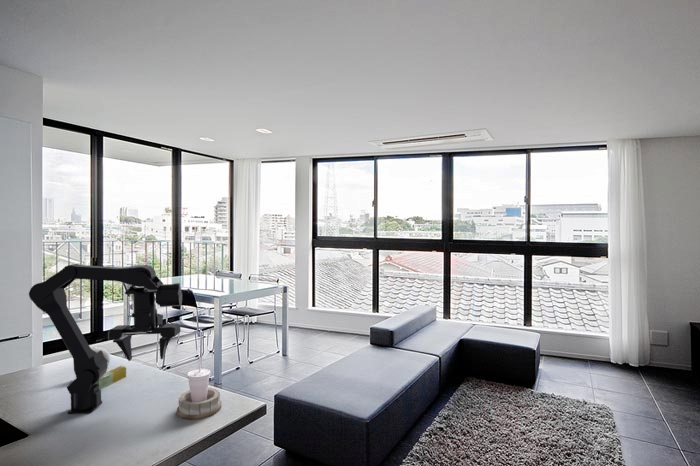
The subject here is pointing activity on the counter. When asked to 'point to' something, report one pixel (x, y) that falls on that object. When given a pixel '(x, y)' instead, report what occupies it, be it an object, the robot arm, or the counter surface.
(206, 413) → the stone fire pit
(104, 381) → the medication box
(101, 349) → the donut
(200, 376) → the smoothie
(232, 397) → the counter surface
